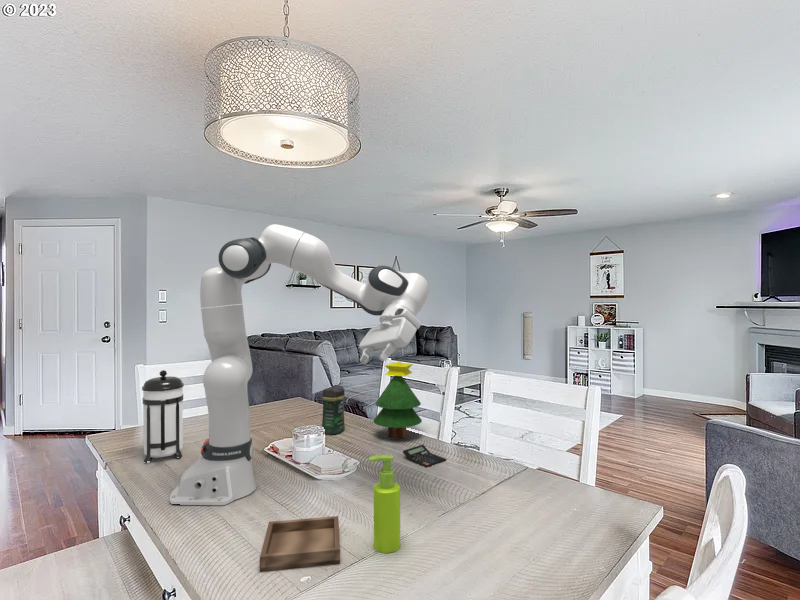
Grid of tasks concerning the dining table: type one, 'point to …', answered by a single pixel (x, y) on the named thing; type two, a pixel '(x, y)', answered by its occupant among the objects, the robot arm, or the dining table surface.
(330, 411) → the coffee jar
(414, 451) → the calculator
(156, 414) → the coffee press
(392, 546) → the soap dispenser
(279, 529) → the holder tray
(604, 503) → the dining table surface
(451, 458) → the dining table surface
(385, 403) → the decorative tree
